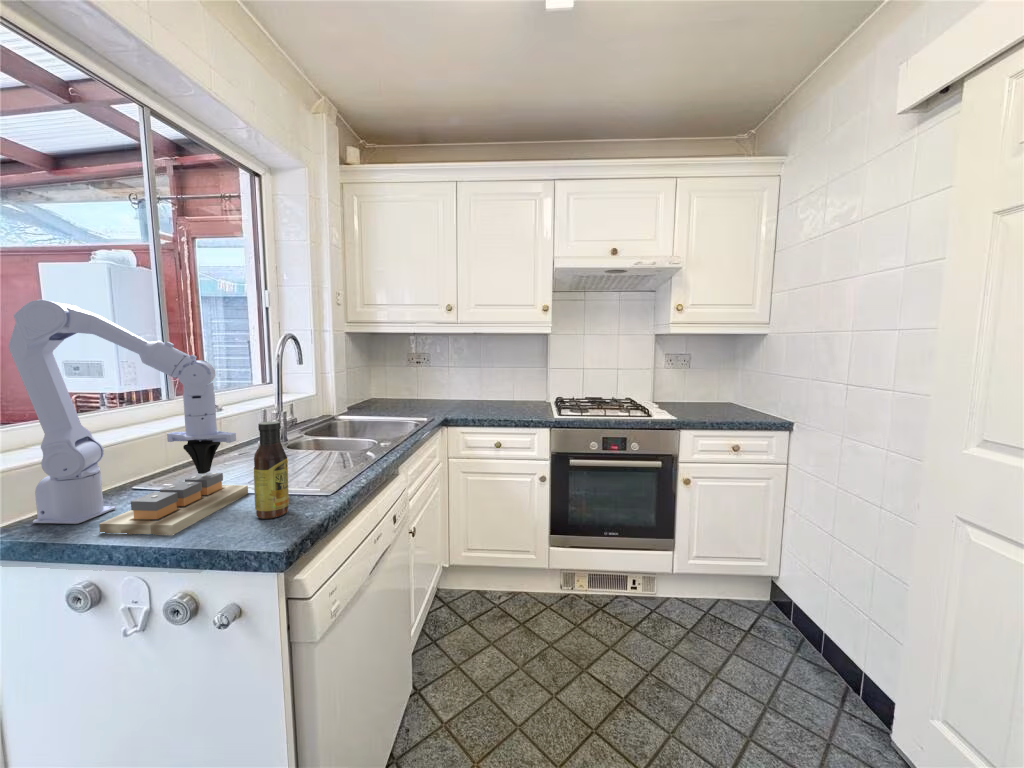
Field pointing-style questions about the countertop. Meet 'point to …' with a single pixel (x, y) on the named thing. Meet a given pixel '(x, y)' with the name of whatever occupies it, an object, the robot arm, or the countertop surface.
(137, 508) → the grey square block
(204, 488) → the three-dot tile
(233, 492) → the beige drawer frame
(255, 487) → the sauce bottle
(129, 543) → the countertop surface
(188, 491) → the two-dot tile
